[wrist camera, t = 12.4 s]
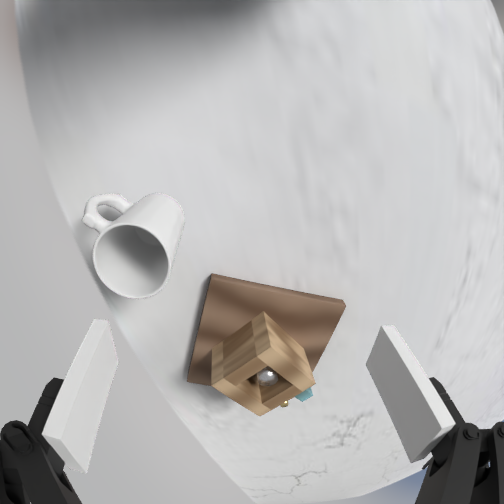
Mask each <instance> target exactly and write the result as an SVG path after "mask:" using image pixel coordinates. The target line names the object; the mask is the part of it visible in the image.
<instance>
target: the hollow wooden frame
mask: <svg viewBox="0 0 504 504" xmlns="http://www.w3.org/2000/svg"><path fill="white" fill-rule="evenodd" d="M267 366H269V367H271V368H272V369H273V370H275V371H276V372H277V376H278V381H277V382H276V383H275V384H274V385H271V386H262V385H260V384H259V383H258V380H257V372H259V371H260V370H262V369H264V368H265V367H267ZM314 384H316V383H315V380H314V377H313V374H312V371H311V368H310V365H309V362H308V359H307V357H306V354H305V351H304V348H303V347H302V346H300V345H299V344H298V343H297V342H296V341H295V340H294V339H293V338H292V337H291V336H290V335H289V334H287V333H286V332H285V331H284V330H283V329H282V328H281V327H280V326H279V325H278V324H277V323H276V322H275V321H273V320H272V319H271V318H270V317H269V316H268V315H267V314H266V313H265V312H264V311H263V312H262V313H260V314H259V315H258V316H256V317H255V318H254V319H252V320H251V321H250V322H248V323H247V324H245V325H244V326H243V327H241V328H240V329H239V330H237V331H236V332H234V333H233V334H232V335H230V336H229V337H228V338H226V339H225V340H223V341H222V342H221V343H219V344H218V345H216V346H215V347H214V348H212V374H211V386H212V387H214V388H215V389H217V390H218V391H220V392H221V393H223V394H224V395H226V396H227V397H229V398H231V399H232V400H234V401H235V402H237V403H238V404H240V405H242V406H243V407H245V408H247V409H248V410H250V411H251V412H253V413H255V414H256V415H258V416H261V415H263V414H265V413H267V412H269V411H271V410H272V409H274V408H276V407H278V406H279V405H281V404H283V403H285V402H286V401H288V400H290V399H291V398H293V397H296V398H297V399H299V400H300V401H302V402H303V401H305V400H306V399H308V398H310V397H311V396H313V394H312V391H311V386H313V385H314Z"/></svg>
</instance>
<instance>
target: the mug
mask: <svg viewBox="0 0 504 504" xmlns="http://www.w3.org/2000/svg"><path fill="white" fill-rule="evenodd" d="M100 205H107V206H110V207H113V208H115V209H116V210H118V211H119V212H120V213H121V214H122V215H121V216H120V217H119V218H118V219H116V220H115V221H108V220H106V219H104V218H103V217H102V216H101V215H100V214H99V213H98V211H97V206H100ZM82 222H83V223H84V224H85V225H87V226H88V227H90V228H94V229H95V230H97V231H98V232H99V234H100V235H99V236H98V237H97V239H96V241H95V244H94V247H93V264H94V267H95V270H96V273H97V275H98V276H99V278H100V279H101V281H102V282H103V283H104V284H105V285H106V286H107V287H108V288H109V289H110V290H111V291H113V292H114V293H116V294H118V295H120V296H123V297H126V298H130V299H144V298H148V297H151V296H153V295H155V294H157V293H158V292H160V291H161V290H162V289H163V288H164V287H165V285H166V284H167V282H168V280H169V277H170V273H171V270H172V266H173V263H174V259H175V256H176V252H177V249H178V245H179V242H180V239H181V236H182V232H183V228H184V223H185V217H184V212H183V210H182V208H181V206H180V204H179V203H178V202H177V201H176V200H175V199H174V198H172V197H171V196H169V195H166V194H162V193H153V194H149V195H147V196H145V197H143V198H142V199H140V200H139V201H138V202H136V203H131V202H129V201H128V200H126V199H125V198H124V197H122V196H121V195H120V194H100V195H96V196H93V197H91V198H90V199H89V200H88V202H87V203H86V206H85V210H84V216H83V218H82Z"/></svg>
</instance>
